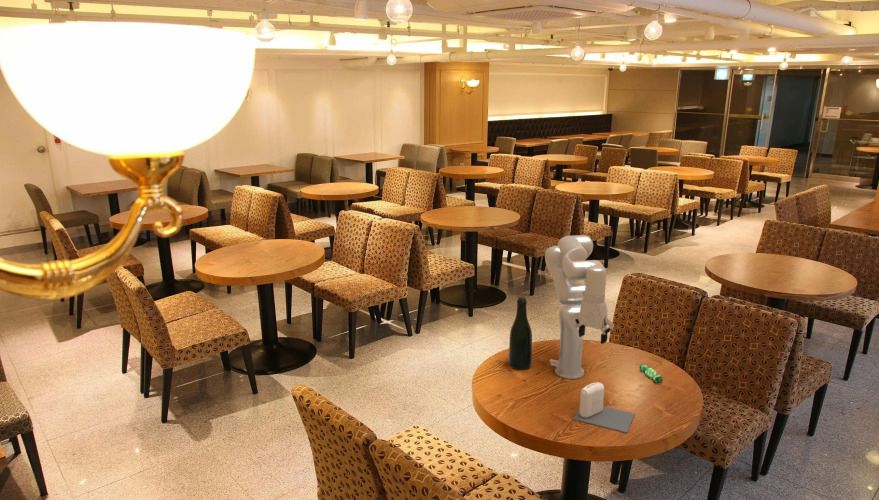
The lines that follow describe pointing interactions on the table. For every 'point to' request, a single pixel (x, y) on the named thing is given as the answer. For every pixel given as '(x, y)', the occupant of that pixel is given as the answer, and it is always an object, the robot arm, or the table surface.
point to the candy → (650, 373)
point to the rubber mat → (608, 419)
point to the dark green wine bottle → (520, 338)
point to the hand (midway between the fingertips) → (592, 339)
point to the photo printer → (591, 399)
